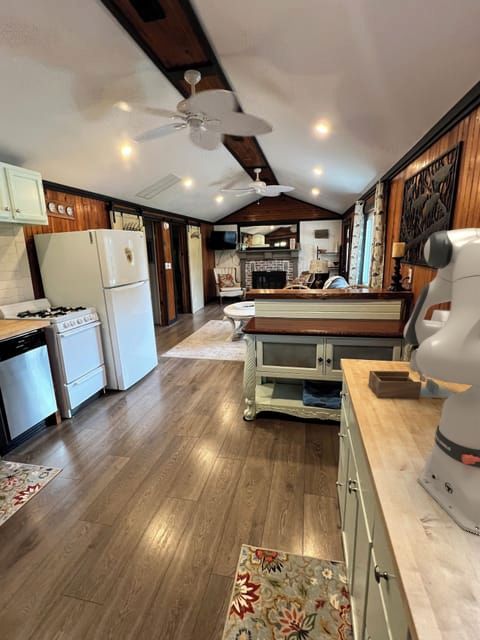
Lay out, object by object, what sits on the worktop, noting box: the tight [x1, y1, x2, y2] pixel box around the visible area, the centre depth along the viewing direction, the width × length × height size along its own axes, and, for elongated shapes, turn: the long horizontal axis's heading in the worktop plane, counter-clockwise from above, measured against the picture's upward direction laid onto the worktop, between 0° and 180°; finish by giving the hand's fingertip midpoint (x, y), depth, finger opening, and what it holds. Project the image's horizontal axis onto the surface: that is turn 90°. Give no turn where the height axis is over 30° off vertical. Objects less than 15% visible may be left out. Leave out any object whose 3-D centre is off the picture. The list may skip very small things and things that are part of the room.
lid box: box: [367, 370, 423, 400], centre depth 126 cm, size 11×16×7 cm
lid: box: [420, 378, 456, 399], centre depth 126 cm, size 8×15×5 cm, turn 86°
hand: (434, 381), depth 124 cm, fingers open, 8 cm apart
